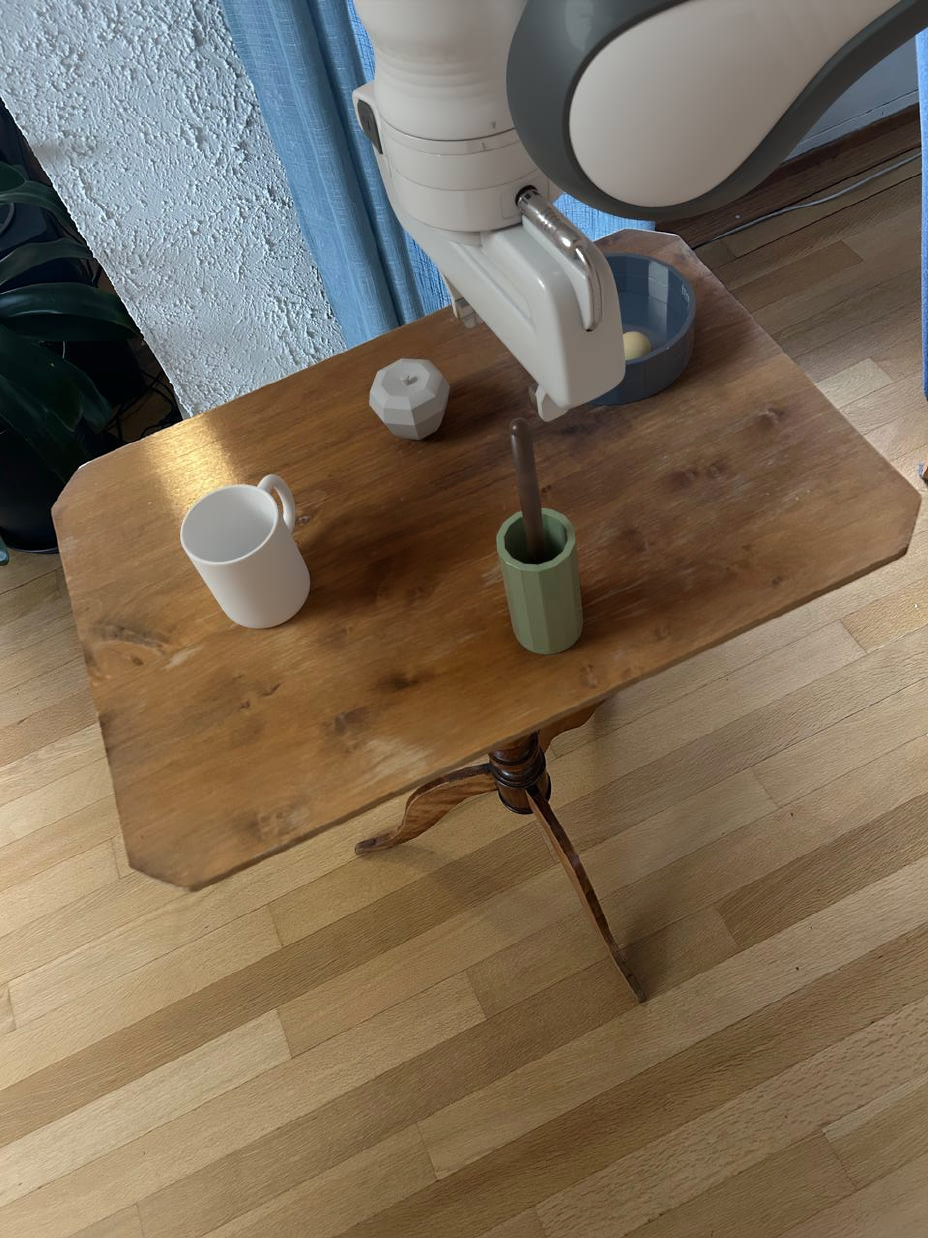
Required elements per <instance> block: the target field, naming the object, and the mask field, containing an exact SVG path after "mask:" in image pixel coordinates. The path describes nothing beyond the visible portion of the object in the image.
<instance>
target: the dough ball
mask: <svg viewBox="0 0 928 1238" xmlns="http://www.w3.org/2000/svg"><path fill="white" fill-rule="evenodd" d="M623 341H624V352H625V361H626V360H630V359H634V358H638V357H643V356H645V355H647V354H649V353H651V351H652V349H651V344H650V341H649V340H648V338H647V337H646V336H645V335H643V334H642V333H639V332H634V331H633V332H627V333H625V334H623Z"/></svg>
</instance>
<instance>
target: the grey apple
mask: <svg viewBox="0 0 928 1238" xmlns="http://www.w3.org/2000/svg"><path fill="white" fill-rule="evenodd" d="M450 389H451V385H450V384H449V382H448V381H447V379H446V378H445V376H444V375H443V373H441V372H440V370H439V368H437V367H436V366H435V365H434V364H433V363H432V362H431V361H430V360H429V359H422V358H421V359H420V358H419V359H418V358H405V357H403V358H400V359H398V360H396V361H395V362H392V363H391V364H389V365H386V366H384V367H383V368H381V369H378V370H377V372H376V374H375V378H374V379H373V383H372V385H371V388H370V391H369V401H368V403H369V404H368V405H369V407H370V408H371V409H372V410H373V411H374V412H375V414H376V415H377V416H378V417H379V418H380V420H381V421H382V422H383V424H384V425H385V426H386V427H387V429H388V430H389V431H390V433H391V434H392V435H393V436H394V437H397V438H399V439H402V440H412V441H413V440H414V441H421V440H423V439H425V438H427V437H428V436H430V435H431V434H433V433H435V432H437V431H438V429H439V428H440V426H441V424H442V421H443V418H444V415H445V412H446V408H447V406H448V401H449V395H450Z"/></svg>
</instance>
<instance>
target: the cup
mask: <svg viewBox="0 0 928 1238" xmlns="http://www.w3.org/2000/svg"><path fill="white" fill-rule="evenodd" d="M274 489H275V491H276V492H277V494H278V496H279V498H280V499H281V504H282V509H283V513H282V512H281V510H280V507H279V505H278V504H277V502H276V500H275V499H274V497H273V496H272V495H271V493H272V491H273V490H274ZM296 518H297V511H296V503H295V498H294V496H293V493H292V490H291V489H290V488H289V485H288V484H287V482H286V481H285V480H284V479H283V478H282V477H281V476H279V475H277V474H274V473H271V474H268V475H267V474H266V475H265V476H264V477H263V478H262V479H260V482H259V483H258V484H257V486H255V485H250V484H244V483H243V484H242V483H241V484H240V483H239V484H230V485H226V486H223V487H219V488H216V489H214V490H213V491H210V492H209V493H206V494H205V495H204V496H201V498H200V499H198V500H197V501H196V502H195V503H194V504H193V505H192V506H191V507H190V508H189V509H188V511H187V513H186V514H185V516H184V518H183V520H182V523H181V526H180V530H179V531H180V533H179V538H180V543H181V546H182V548H183V550H184V552H185V553H186V555H187V556H188V558H189V559H190V561H191V562H192V564H193V566H194V567H195V569H196V570H197V572H198V573H199V575H200V576H201V578H202V579H203V581H204V583H205V584H206V586H207V587H208V589H209V590H210V592H211V593H212V595H213V597H214V598H215V600H216V602H217V603H218V605H219V606H220V608H221V609H222V610H223V612H224V613H225V615H226V616H227V617H228V618H229V619H230V620H231V621H232V622H234V623H235V624H237V625H240V626H242V627H244V628H249V629H254V630H255V629H256V630H257V629H258V630H260V629H268V628H269V629H270V628H273V627H276V626H279V625H281V624H284V623H285V622H287V621H288V620H290V619H291V618H293V617H294V616H295V615H297V613H298V612H299V611H300V610H301V609H302V607H303V606H304V604H305V602H306V601H307V599H308V597H309V594H310V593H309V592H310V588H311V578H310V577H311V576H310V573H309V570H308V567H307V564H306V562H305V560H304V558H303V556H302V554H301V552H300V550H299V547H298V546H297V543H296V542H295V539H294V537H293V531H294V529H295V524H296Z"/></svg>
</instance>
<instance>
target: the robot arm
mask: <svg viewBox="0 0 928 1238" xmlns="http://www.w3.org/2000/svg"><path fill="white" fill-rule="evenodd" d="M352 2H353V6H354V9H355V12H356V14H357V17H358V18H359V21H360V23H361V24H362V26H363V28H364V30H365V32H366V33H367V35H368V38H369V41H370V44H371V46H372V51H373V55H374V56H373V57H374V75H373V80H370V81H369V82H367V83H365V84H363V85H361V86H359V87H357V88H356V89H354V90H353V91H352V93H351V99H352V104H353V110H354V112H355V116H356V120H357V122H358V125H359V128H360V129H361V130H362V132H363V133H364V134H365V135H366V137H367V138H368V139H369V141H370V142H371V145H372V149H373V153H374V156H375V160H376V163H377V167H378V169H379V173H380V176H381V179H382V182H383V186H384V189H385V192H386V194H387V195H386V196H387V198H388V200H389V203H390V205H391V208H392V210H393V212H394V214H395V216H396V218H397V220H398V222H399V223H400V225H401V227H402V229H403V230H404V231H405V232H406V233H407V234H408V235H409V236H410V238H412V240H413V241H414V242H415V243H416V244H417V245H418V247H419V248H420V249H421V250H422V251H423V252H424V254H425V255H426V256H427V257H428V258H429V260H431V262H432V263H433V264H434V265H435V266H436V268H437V271H438V273H439V275H440V277H441V279H442V282H443V284H444V287H445V288H446V291H447V292H448V294H449V296H450V300H451V306H452V311H453V315H454V316H455V318H456V319H457V320H458V321H459V322H460V323H461V324H462V325H463V326H464V328H466V329H467V330H472V329H474V328H476V326H477V325H482V324H484V323H485V324H486V325H487V326H488V327H489V329H490V330H491V331H492V332H493V333H494V334H495V335H496V337H497V338H498V339H499V340H500V342H501V343H502V344H503V345H504V346H505V347H506V348H507V349H508V350H509V352H510V353H511V354H512V355H513V357H515V359H516V360H517V361H518V362H519V363H520V365H521V366H522V367H523V368H524V369H525V370H526V371H527V373H528V374H529V375H530V376H531V377H532V378H533V379H534V381H536V382H534V383H533V384H530V385H529V386H528V387H527V388H528V395H529V398H530V401H529V403H530V406H531V407H532V408H533V410H534V411H535V412H536V413H537V414H538V415H539V417H540V419H542V421H544V422H546V423H547V422H548V423H549V422H551V421H554V420H555V419H557V418H560V417H562V416H564V415H566V414H567V413H568V411H570V410H571V409H575V408H577V407H579V406H581V405H584V404H585V403H587V402H589V401H591V400H593V399H596V398H598V397H599V396H601V395H603V394H605V393H606V392H608V391H610V390H611V389H613V388H614V387H616V386H617V385H618V384H619V383H620V382H621V381H622V380H623V378H624V375H625V352H624V341H623V331H622V322H621V314H620V306H619V300H618V294H617V289H616V284H615V280H614V277H613V274H612V271H611V268H610V266H609V264H608V262H607V260H606V258H605V257H604V255H603V254H602V253H603V252H602V251H601V249H600V248H599V247H598V246H597V245H596V244H595V243H594V242H593V240H591V239H590V238H589V237H588V236H587V235H586V234H585V233H584V232H583V231H582V230H581V229H580V228H579V227H577V225H576V224H574V223H573V222H572V220H570V219H569V218H568V217H567V216H566V215H565V214H564V213H563V212H562V211H561V210H560V209H559V208H557V207H556V205H554V203H555V202H557V200H558V199H559V198H560V197H561V196H562V195H563V194H564V193H565V194H567V195H568V196H570V197H571V198H573V199H574V200H576V201H578V202H580V203H581V204H584V205H585V206H587V207H589V208H591V209H593V210H595V211H598V212H601V213H604V214H606V215H609V216H612V217H618V218H620V219H621V218H622V219H625V220H632V221H633V220H634V221H638V222H640V221H642V222H667V221H668V222H669V221H677V220H683V219H688V218H692V217H696V216H697V217H698V216H700V215H704V214H707V213H711V212H713V211H716V210H718V209H721V208H722V207H725V206H727V205H729V204H732V203H733V202H735V201H736V200H738V199H740V198H742V197H743V196H745V195H746V194H747V193H750V191H752V190H753V189H755V188H756V187H757V186H758V185H760V184H761V183H762V182H764V180H766V179H767V178H768V177H769V176H770V175H771V174H772V173H773V172H774V171H775V170H776V169H777V168H778V167H779V166H780V165H781V164H782V163H783V162H784V161H785V160H786V158H788V156H789V155H790V154H791V153H792V152H793V151H794V150H795V149H796V147H797V146H798V145H799V144H800V142H801V141H802V140H803V139H804V138H805V137H806V135H807V134H808V133H809V132H810V130H811V129H812V128H813V127H814V126H816V124H817V122H818V121H819V120H820V119H821V118H822V117H823V116H824V114H826V112H827V111H829V109H830V108H831V107H832V106H833V105H834V104H835V103H836V102H837V100H838V99H840V97H842V96H843V94H845V93H846V92H847V91H848V90H849V89H850V88H851V87H852V86H853V85H854V84H855V83H857V81H858V80H860V79H861V78H862V77H863V76H864V75H866V74H867V73H868V72H869V71H870V70H872V69H873V68H874V67H875V66H876V65H878V64H879V63H880V62H881V61H883V60H884V59H886V58H888V56H890V55H891V54H893V52H895V51H896V50H898V49H899V48H900V47H902V46H903V45H904V44H906V43H907V42H909V41H910V40H912V39H913V38H915V37H916V36H917V35H919V34H920V33H921V32H923V31H924V30H926V29H928V0H352Z"/></svg>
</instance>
